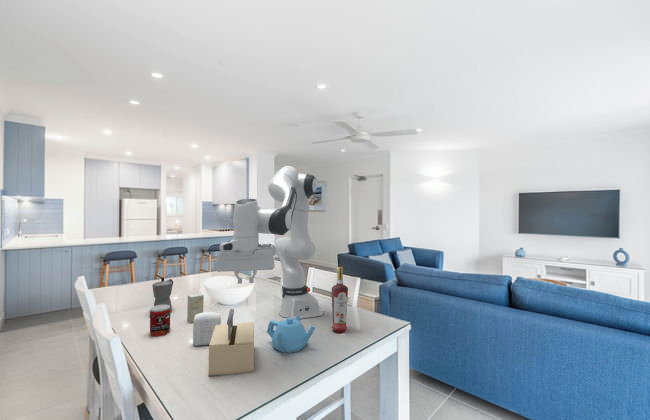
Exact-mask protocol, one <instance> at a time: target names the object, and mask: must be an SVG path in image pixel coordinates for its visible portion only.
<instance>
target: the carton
mask: <svg viewBox="0 0 650 420" xmlns="http://www.w3.org/2000/svg"><path fill="white" fill-rule="evenodd" d="M254 365H255V323H254V322H253V321H252V322H251V321H250V322H248V321H247V322H237V324H233V327H232V331H231V340H230V342H229V346H219V347H209V346H208V377H217V376H225V375H233V374H241V373H250V372H251V373H252V372H255V369H254V368H255V367H254Z"/></svg>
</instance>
